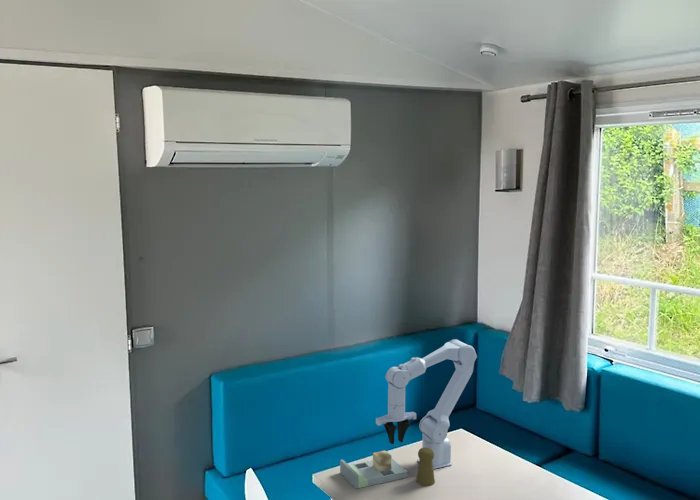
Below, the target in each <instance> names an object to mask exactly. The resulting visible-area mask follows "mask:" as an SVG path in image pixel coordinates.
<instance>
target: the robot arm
mask: <svg viewBox="0 0 700 500" xmlns="http://www.w3.org/2000/svg"><path fill="white" fill-rule="evenodd" d="M477 358H478V355H477V353H476V350H475V348H474V347H473V346H472V345H469V344H467V343H464V342H463V341H460V340H459V339H457V338H455V339H454V338H453V339H451V340H449V341H447V342H445V343H444V345H443V346H441V347H439V348H438V349H436V350H434V351H433V352H430V353H429V354H427V355H426V356H424V357H422V358H421V357H418V356H416V357H411V358H410V360H409V361H406V362H405V363H400V364H398V366H392V367H390V368H389V369H388V370H387V372H386V374H385V376H384V377H385V380H386V382H387V383H388V384H387V385H388V386H387V387H388V388H387V414H385V415H383V416H380V417H375V424H376V425H377V426H382V425H383V426H384V429H385V432H386V435H387V437H388V442H389V443H390V444H391V445H394V444H395V435H396V434H395V433H396V428H397V441H398V442H400V443H403V442H404V439H405V435H406V432H407V431H408V429H409V428H410V425H411V422H410V420H417V413H416V412H414V411H410V412H408V411H407V412H406V387H407V385H408V384H409V382H410V381H411V380H413V379H416V378H417V377H419V376H422V375H424V374H425V373H426V370H427V368H429V367H431V366H434V365H436V364H438V363H442V362H443V361H445V360H446V361H447V360H451V361H452V362H453V364H454V368H455V370H454V372H453V374H452V376H451V378H450V380H449V381H448V383H447V385H446V387H445V389H444V391H443V392H442V394H441V396H440V398H439V400H438V402H437V403H436V405H435V407H434V408H433V409H431V410H429V411H428V412H427V413H426V415H425V416H424V417H422V419H420V421H419V425H418V426H419V430H420V432H422V447H421V448H430V449H432V450H433V452H434V458H433V459H432V462H433V470H436V469H439V468H444V467H449V466H452V462H451V459H452V458H451V457H452V456H451V455H452V454H451V452H452V449H451V448H452V446H451V441H450V440H449V438H448V437H447V436H448V431H449V429H450V426H451V425H450V420H449V419H450V418H449V417H450V415H451V413H452V411H453V410H454V409H455V406H456V405H457V402H458V401H459V399H460V396H461V395H462V393H463V391H464V390H465V388H466V385H467V384H468V382H469V381H470V378H471V376H472V374H473V372H474V366H475V361H476V359H477ZM395 423H396V424H397V425H396V426H395ZM419 460H420V459H419V458H418V459H416V461H417V462H418V463H419Z"/></svg>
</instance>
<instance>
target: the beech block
mask: <svg viewBox="0 0 700 500" xmlns="http://www.w3.org/2000/svg"><path fill="white" fill-rule="evenodd" d="M391 458H392V455H391V454H390V453H389V452H388V451H386V450H380V451H377V452H376V451H375V452H373V453H372V460H373V467H375V468H376V469H377V470H378V471H379V472H380V471H385V470H389V469H391Z"/></svg>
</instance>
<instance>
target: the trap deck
mask: <svg viewBox="0 0 700 500" xmlns="http://www.w3.org/2000/svg"><path fill="white" fill-rule="evenodd" d="M339 461H340V462H339V467H340V469H339V471H340V472H339V473H340V475H342V476H343V478H344V479H346V481H348V483H349V484H350V485H351V486H352V487H353V488H354V489H356V488H357V489H360V488H365V487H370V486H374V485H378V484H383V483H387V482H391V481H396V480H401V479H405V478H408V470H406V469H405V468H404V467H403V466H401V465H400V464H399V463H398V462H397V461H395V459H393V458H392V457H391V469H389V470H385V471H380V472H379V471H378V470H377V469H376V468H375V467H373V459H372V460H368V461H363V462H358V463H354V464H348V463H347V462H346V461H345V459H340V460H339ZM357 489H356V490H357Z"/></svg>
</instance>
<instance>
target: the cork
mask: <svg viewBox="0 0 700 500" xmlns="http://www.w3.org/2000/svg"><path fill="white" fill-rule="evenodd" d="M417 456H418V459H420V460H419V462H418V465H417V466H418V467H417V474H416V480H415V482H416V483H417V484H418V485H420V486H423V487H430V486H433V485H435V483H436V479H435V469H433V462H432V459H433V458H434V452H433V450H432V449H430V448H422V447H421V448H419V450H418V452H417Z"/></svg>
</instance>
